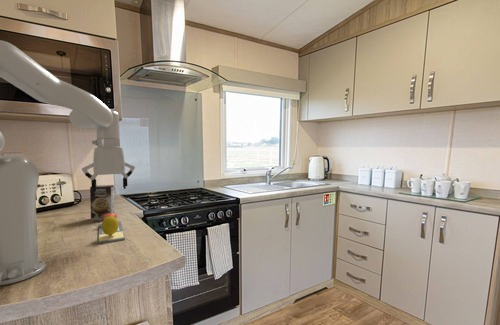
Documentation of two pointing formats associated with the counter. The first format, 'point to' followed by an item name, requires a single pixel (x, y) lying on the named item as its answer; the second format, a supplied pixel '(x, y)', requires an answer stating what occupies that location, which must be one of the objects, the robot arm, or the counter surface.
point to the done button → (111, 215)
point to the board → (115, 237)
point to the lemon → (110, 225)
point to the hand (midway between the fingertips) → (110, 189)
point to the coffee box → (101, 201)
